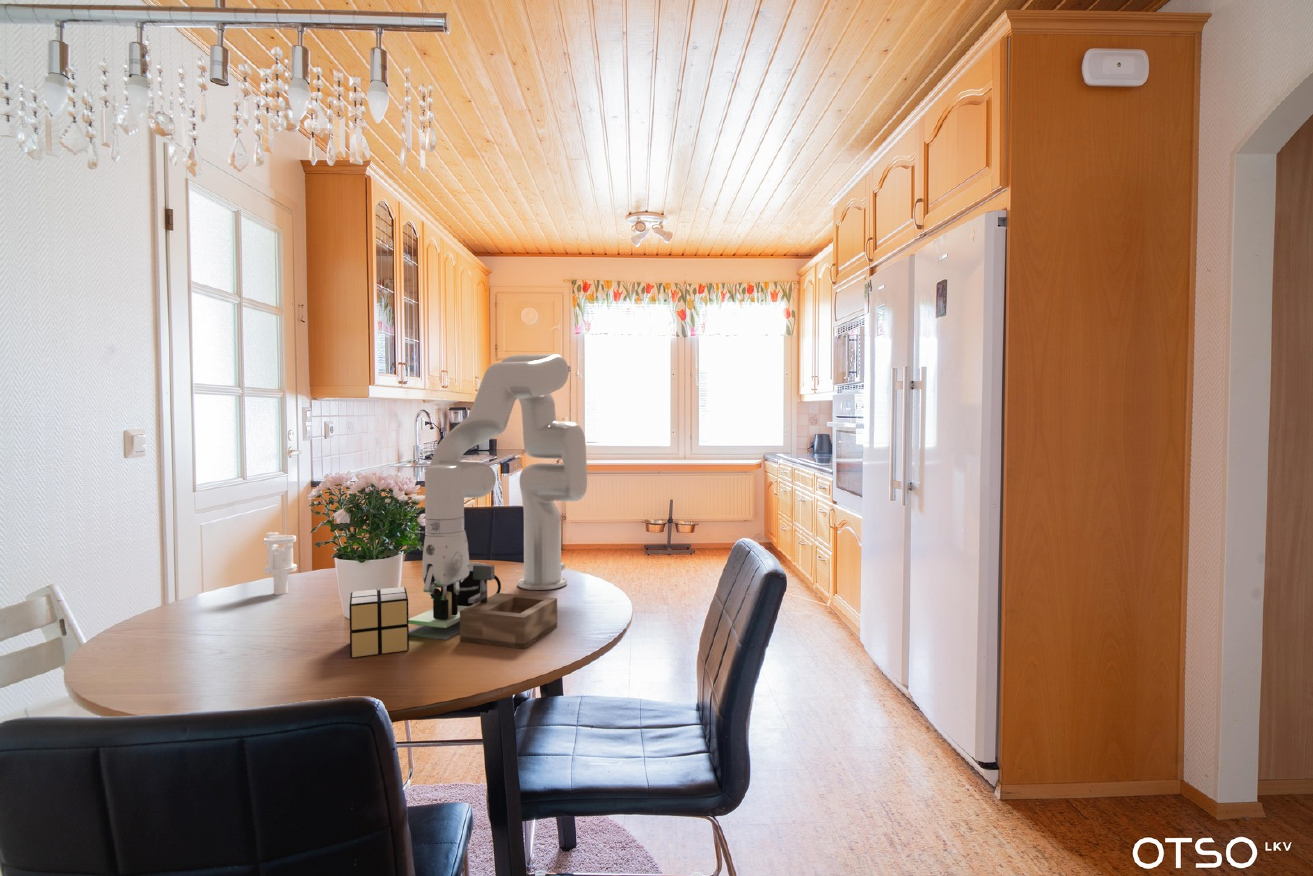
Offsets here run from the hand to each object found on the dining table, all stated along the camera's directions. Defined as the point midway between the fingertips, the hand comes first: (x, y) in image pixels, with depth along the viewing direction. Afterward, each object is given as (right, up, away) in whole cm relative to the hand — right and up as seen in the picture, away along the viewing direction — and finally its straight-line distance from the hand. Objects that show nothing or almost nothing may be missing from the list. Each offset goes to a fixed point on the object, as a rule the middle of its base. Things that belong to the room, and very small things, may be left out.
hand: (445, 616), depth 136 cm
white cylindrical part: (-50, -3, +30) cm, 59 cm away
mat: (-1, -3, +3) cm, 5 cm away
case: (+13, -3, -1) cm, 14 cm away
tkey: (+7, +3, -1) cm, 8 cm away
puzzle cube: (-10, -4, -8) cm, 14 cm away
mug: (+2, -3, +15) cm, 16 cm away
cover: (-1, -1, +3) cm, 3 cm away
